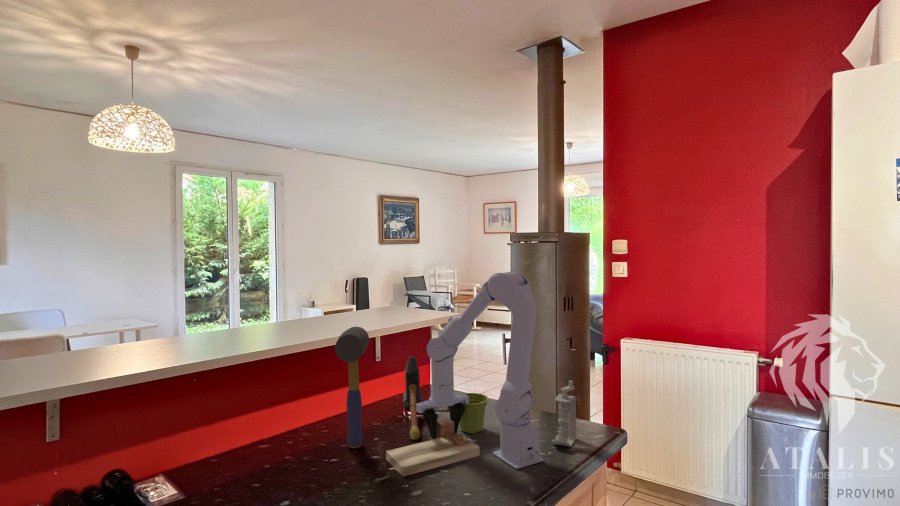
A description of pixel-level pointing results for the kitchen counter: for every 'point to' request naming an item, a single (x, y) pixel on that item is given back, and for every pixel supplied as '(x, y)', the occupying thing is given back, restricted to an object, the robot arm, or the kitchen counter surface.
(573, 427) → the clamp
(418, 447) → the board
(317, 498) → the kitchen counter surface
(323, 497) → the kitchen counter surface
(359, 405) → the rubber mallet
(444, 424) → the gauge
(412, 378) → the hammer
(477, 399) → the plant pot
